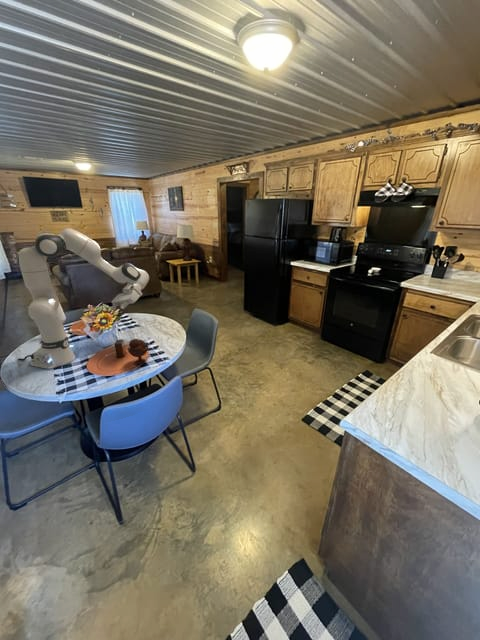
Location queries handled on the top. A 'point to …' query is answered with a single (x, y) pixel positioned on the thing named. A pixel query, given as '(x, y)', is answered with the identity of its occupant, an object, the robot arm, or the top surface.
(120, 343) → the eraser
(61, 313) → the champagne flute
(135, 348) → the ice cream bowl
